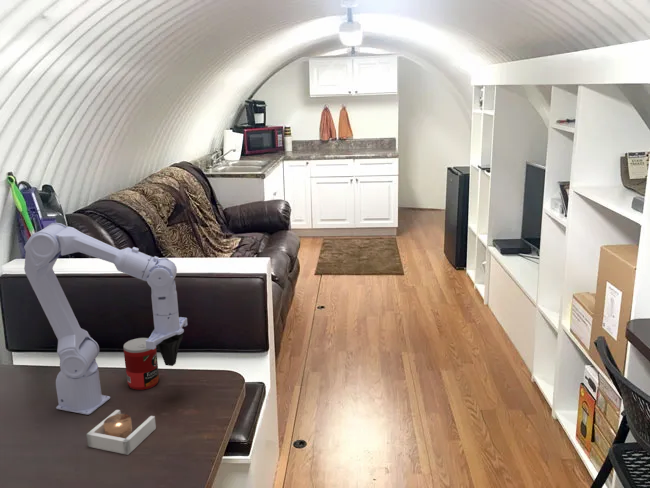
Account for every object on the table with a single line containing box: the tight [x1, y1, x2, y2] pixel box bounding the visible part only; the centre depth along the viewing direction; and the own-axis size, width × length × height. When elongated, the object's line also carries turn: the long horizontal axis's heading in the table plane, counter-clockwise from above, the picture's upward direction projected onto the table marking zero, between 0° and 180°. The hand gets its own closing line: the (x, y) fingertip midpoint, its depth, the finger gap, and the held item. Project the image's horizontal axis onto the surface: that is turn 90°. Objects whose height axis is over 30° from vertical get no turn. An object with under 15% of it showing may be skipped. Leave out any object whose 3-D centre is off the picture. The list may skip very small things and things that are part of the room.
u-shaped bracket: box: [85, 409, 157, 456], centre depth 123 cm, size 10×10×3 cm
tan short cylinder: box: [104, 413, 134, 439], centre depth 123 cm, size 6×6×4 cm
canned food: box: [123, 337, 160, 391], centre depth 145 cm, size 8×8×11 cm
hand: (170, 364), depth 136 cm, fingers closed
